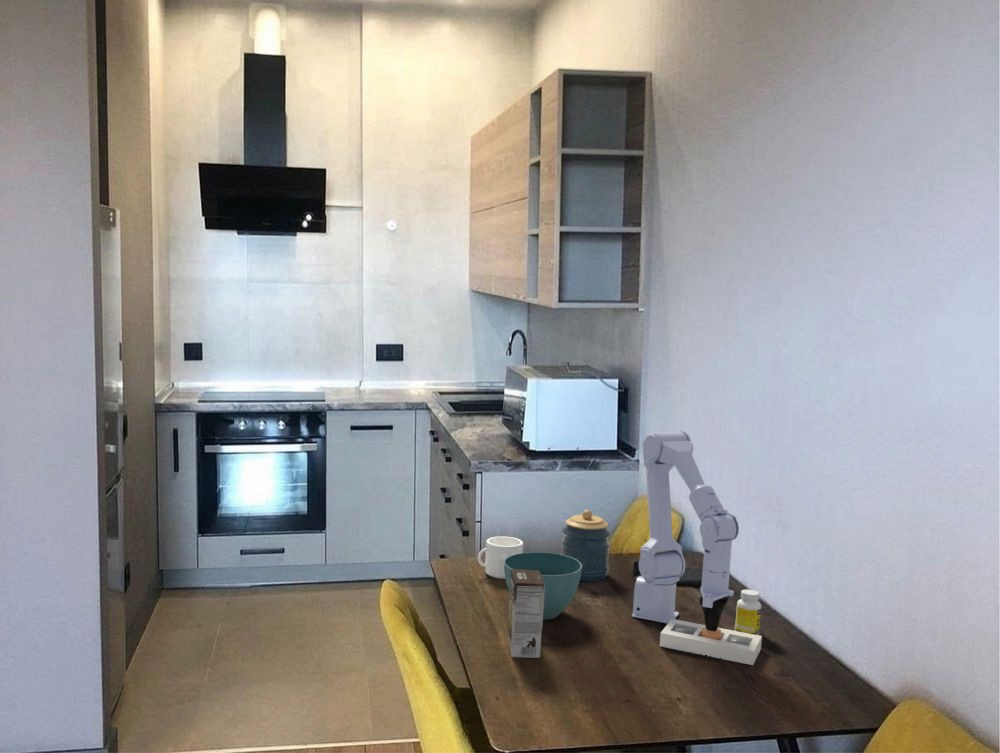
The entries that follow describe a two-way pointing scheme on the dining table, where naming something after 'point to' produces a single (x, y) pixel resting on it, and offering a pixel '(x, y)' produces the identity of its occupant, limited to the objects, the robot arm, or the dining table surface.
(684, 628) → the left grey button
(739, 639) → the right grey button
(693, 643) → the button panel
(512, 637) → the coffee box
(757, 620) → the supplement bottle
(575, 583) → the teal bowl
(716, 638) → the orange rounded dome
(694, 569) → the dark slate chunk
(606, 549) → the canister
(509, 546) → the mug
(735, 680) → the dining table surface
